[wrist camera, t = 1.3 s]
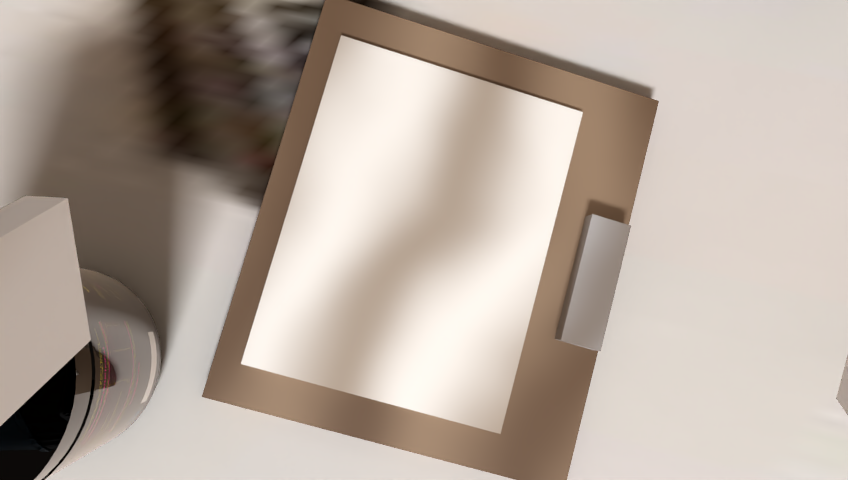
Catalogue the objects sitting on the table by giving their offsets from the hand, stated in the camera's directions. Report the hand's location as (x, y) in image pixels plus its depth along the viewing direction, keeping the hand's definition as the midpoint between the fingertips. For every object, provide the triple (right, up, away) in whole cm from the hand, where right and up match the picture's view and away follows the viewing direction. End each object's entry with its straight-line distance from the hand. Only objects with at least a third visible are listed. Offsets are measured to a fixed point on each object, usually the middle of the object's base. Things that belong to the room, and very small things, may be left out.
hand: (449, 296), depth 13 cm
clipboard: (0, +1, +17) cm, 17 cm away
